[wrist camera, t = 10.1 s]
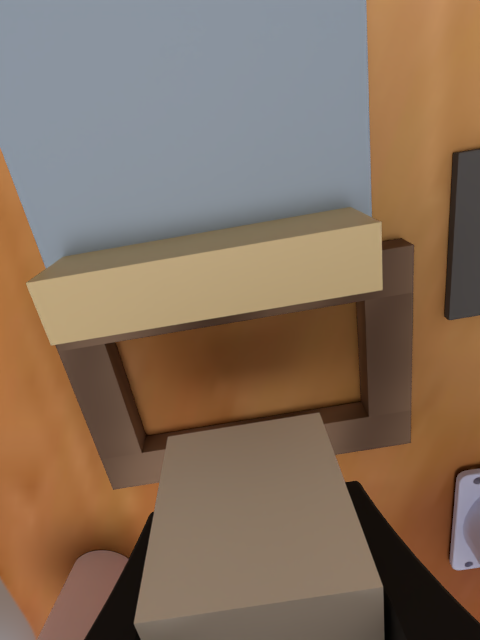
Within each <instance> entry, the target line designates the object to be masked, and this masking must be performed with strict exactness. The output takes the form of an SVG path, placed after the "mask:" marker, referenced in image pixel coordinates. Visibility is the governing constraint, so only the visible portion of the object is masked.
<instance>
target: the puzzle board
mask: <svg viewBox="0 0 480 640" xmlns="http://www.w3.org/2000/svg"><path fill="white" fill-rule="evenodd" d="M413 275H414V245H413V244H411V243H409V242H407V241H406V240H404V239H402V238H400V239H394V240H388V241H382V279H383V290H380V291H374V292H368V293H362V294H356V295H350V296H344V297H338V298H332V299H326V300H320V301H314V302H308V303H302V304H296V305H290V306H284V307H278V308H272V309H266V310H260V311H254V312H249V313H243V314H237V315H231V316H225V317H219V318H213V319H207V320H201V321H195V322H189V323H183V324H177V325H171V326H165V327H159V328H153V329H147V330H141V331H135V332H129V333H123V334H117V335H111V336H105V337H99V338H93V339H87V340H81V341H75V342H69V343H63V344H57V345H56V348H57V350H58V353H59V355H60V358H61V360H62V363H63V365H64V368H65V370H66V373H67V375H68V378H69V380H70V383H71V385H72V388H73V390H74V393H75V395H76V398H77V400H78V403H79V405H80V408H81V410H82V413H83V415H84V418H85V420H86V423H87V425H88V428H89V430H90V433H91V435H92V438H93V440H94V443H95V445H96V448H97V450H98V453H99V455H100V458H101V460H102V463H103V465H104V468H105V470H106V473H107V475H108V478H109V480H110V483H111V485H112V488H113V490H114V489H120V488H126V487H133V486H139V485H146V484H152V483H158V482H160V477H161V472H162V466H163V461H164V455H165V450H166V444H167V439H168V437H169V436H175V435H181V434H187V433H194V432H200V431H206V430H212V429H219V428H225V427H231V426H237V425H244V424H250V423H256V422H263V421H269V420H275V419H281V418H288V417H294V416H300V415H306V414H313V413H320V415H321V418H322V421H323V424H324V426H325V429H326V432H327V435H328V437H329V440H330V443H331V446H332V448H333V451H334V454H335V455H337V454H344V453H350V452H356V451H363V450H369V449H375V448H382V447H388V446H395V445H401V444H407V443H411V392H412V333H413ZM353 302H356V305H357V326H358V348H359V370H360V392H361V402H357V403H351V404H345V405H338V406H332V407H326V408H320V409H313V410H307V411H301V412H295V413H288V414H282V415H276V416H270V417H263V418H257V419H251V420H245V421H238V422H232V423H226V424H220V425H213V426H207V427H201V428H195V429H188V430H182V431H176V432H170V433H163V434H157V435H151V436H146V435H145V431H144V428H143V425H142V422H141V419H140V416H139V413H138V410H137V407H136V404H135V401H134V398H133V395H132V392H131V389H130V386H129V383H128V380H127V377H126V374H125V371H124V368H123V365H122V362H121V359H120V356H119V352H118V349H117V346H116V343H115V342H119V341H125V340H131V339H137V338H143V337H149V336H155V335H161V334H167V333H173V332H179V331H185V330H191V329H197V328H203V327H209V326H215V325H221V324H227V323H233V322H239V321H245V320H251V319H257V318H263V317H269V316H275V315H281V314H287V313H293V312H299V311H305V310H311V309H317V308H323V307H329V306H335V305H341V304H347V303H353Z"/></svg>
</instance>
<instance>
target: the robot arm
mask: <svg viewBox="0 0 480 640" xmlns="http://www.w3.org/2000/svg"><path fill="white" fill-rule="evenodd" d="M345 484H346V487H347V489H348V492H349V495H350V497H351V500H352V503H353V506H354V508H355V511H356V514H357V517H358V519H359V522H360V525H361V527H362V530H363V533H364V536H365V538H366V541H367V544H368V547H369V549H370V552H371V555H372V558H373V560H374V563H375V566H376V568H377V571H378V574H379V577H380V579H381V582H382V585H383V596H384V638H385V640H480V623H479V622H478V621H477V620H476V619H475V618H474V617H473V616H472V615H471V614H470V613H469V612H468V611H467V610H466V609H465V608H464V607H463V606H462V605H461V604H460V603H459V602H458V601H457V600H456V599H455V598H454V597H453V596H452V595H451V594H450V593H449V592H448V591H447V590H446V589H445V588H444V587H443V586H442V585H441V584H440V583H439V581H438V580H437V579H436V578H435V577H434V576H433V575H432V574H431V573H430V572H429V571H428V570H427V568H426V567H425V566H424V565H423V564H422V563H421V562H420V561H419V559H418V558H417V557H416V556H415V555H414V554H413V552H412V551H411V550H410V549H409V548H408V546H407V545H406V544H405V543H404V542H403V540H402V539H401V538H400V537H399V536H398V535H397V533H396V532H395V531H394V530H393V528H392V527H391V526H390V525H389V523H388V522H387V521H386V519H385V518H384V517H383V515H382V514H381V513H380V511H379V510H378V509H377V507H376V506H375V505H374V503H373V502H372V500H371V499H370V497H369V496H368V495H367V493H366V492H365V490H364V489H363V487H362V485H361V484H360V483H359V482H357V481H352V482H345ZM153 515H154V512H152V513H151V514H150V515H149V517H148V520H147V522H146V524H145V526H144V528H143V530H142V533H141V535H140V537H139V539H138V541H137V543H136V545H135V547H134V549H133V551H132V553H131V555H130V557H129V559H128V561H127V563H126V565H125V567H124V569H123V571H122V573H121V575H120V577H119V579H118V581H117V582H116V584H115V586H114V588H113V590H112V592H111V594H110V596H109V597H108V599H107V601H106V603H105V604H104V606H103V608H102V610H101V611H100V613H99V615H98V616H97V618H96V620H95V622H94V623H93V625H92V627H91V629H90V630H89V632H88V634H87V635H86V637H85V639H84V640H141V639H140V637H139V635H138V632H137V630H136V628H135V626H134V619H135V614H136V608H137V603H138V597H139V592H140V586H141V581H142V575H143V570H144V564H145V559H146V553H147V548H148V543H149V537H150V532H151V526H152V521H153ZM450 564H451V566H452V568H453V569H455V570H465V569H472V568H478V567H480V468H478V469H472V470H465V471H462V472H461V473H459V474H458V475H457V478H456V488H455V501H454V513H453V525H452V538H451V550H450Z"/></svg>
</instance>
